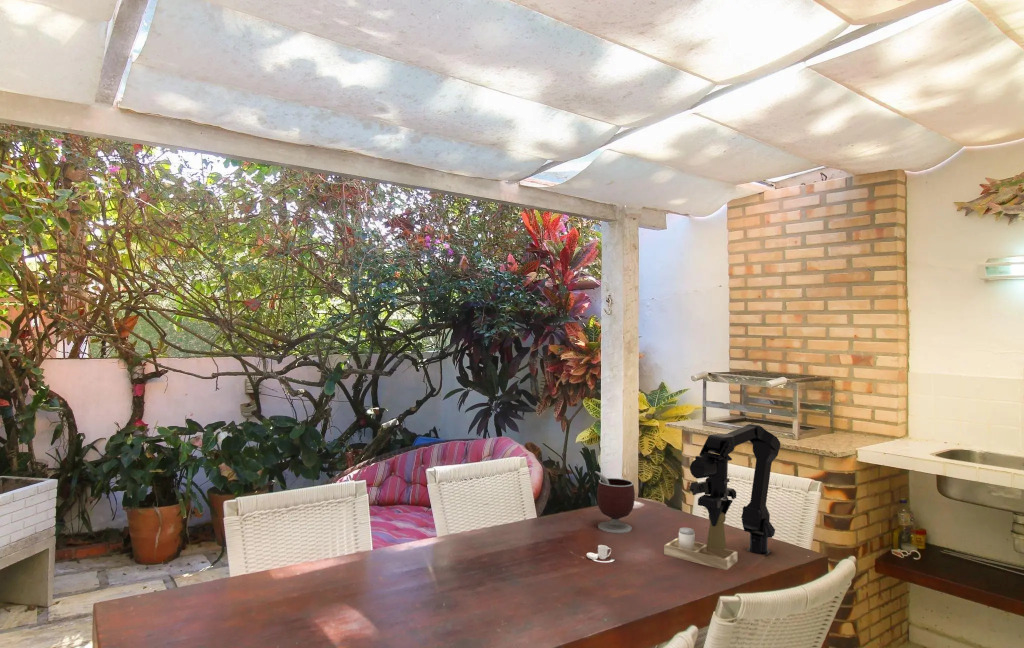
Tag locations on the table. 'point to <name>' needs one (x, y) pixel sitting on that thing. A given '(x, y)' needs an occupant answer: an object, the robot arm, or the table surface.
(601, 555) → the teacup and saucer
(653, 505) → the table surface
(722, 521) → the olive tapered block
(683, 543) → the salt shaker
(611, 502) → the mate gourd
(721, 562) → the caddy
